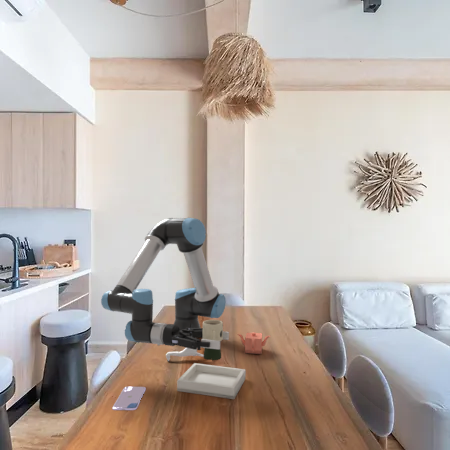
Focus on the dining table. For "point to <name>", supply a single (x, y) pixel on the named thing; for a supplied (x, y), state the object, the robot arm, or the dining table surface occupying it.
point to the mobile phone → (129, 398)
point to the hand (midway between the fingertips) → (224, 340)
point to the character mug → (212, 337)
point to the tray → (212, 380)
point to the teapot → (253, 342)
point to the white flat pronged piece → (184, 353)
